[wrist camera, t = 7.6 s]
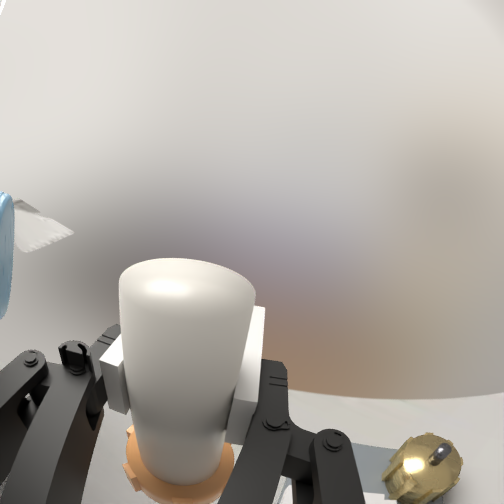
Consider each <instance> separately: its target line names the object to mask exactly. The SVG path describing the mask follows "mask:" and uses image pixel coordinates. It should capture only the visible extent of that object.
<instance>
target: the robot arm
mask: <svg viewBox="0 0 504 504" xmlns="http://www.w3.org/2000/svg"><path fill="white" fill-rule="evenodd" d="M5 1H6V0H0V14H1V11H2V9H3V6H4V3H5ZM13 250H14V204H13V202H12V198H11V196H10V195H9V194H5V193H4V192H2V191H0V319H2V317H3V316H4V315H5V313H6V311H7V308H8V303H9V298H10V291H11V280H12V267H13ZM264 315H265V308H264V307H258V306H254V308H253V313H252V318H251V322H250V327H249V332H248V337H247V341H246V346H245V351H244V355H243V360H242V365H241V369H240V374H239V378H238V382H237V384H236V388H235V392H234V397H233V401H232V406H231V411H230V415H229V420H228V424H227V429H226V434H225V439H224V442H226V443H231V444H237V445H243V447H242V450H241V452H240V454H239V457H238V459H237V461H236V464H235V466H234V468H233V470H232V473H231V475H230V477H229V479H228V482H227V484H226V486H225V488H224V490H223V493H222V495H221V497H220V499H219V501H218V503H217V504H272V503H273V500H274V496H275V493H276V490H277V486H278V483H279V480H280V476H281V475H282V476H285V477H288V478H290V479H291V482H292V499H293V504H366V503H365V498H364V494H363V490H362V485H361V481H360V477H359V473H358V469H357V465H356V461H355V457H354V453H353V449H352V445H351V442H350V440H349V438H348V437H347V436H346V435H345V434H344V433H343V432H341V431H338V430H335V429H325V430H322V431H320V432H318V433H317V434H315V433H312V432H309V431H306V430H304V429H301V428H299V427H298V426H296V425H295V424H294V423H293V422H292V420H291V419H290V417H289V410H288V388H287V386H288V382H287V369H286V368H285V366H284V364H283V363H282V362H278V361H272V360H266V359H261V355H262V342H263V329H264ZM58 349H59V353H60V357H61V360H62V364H63V365H62V364H55V363H50V362H46V359H45V356H44V354H42V353H41V352H39V351H37V350H28V351H24V352H23V353H21V354H20V355H19V356H17V357H16V358H15V359H14V360H13V361H11V362H10V363H9V364H8V365H7V366H6V367H4V368H3V369H2V370H1V371H0V485H1V484H2V483H3V481H4V480H5V478H6V477H7V476H8V474H9V473H10V474H9V477H8V479H7V482H6V485H5V488H4V491H3V494H2V497H1V500H0V504H81V500H82V495H83V491H84V486H85V482H86V478H87V474H88V470H89V466H90V462H91V458H92V454H93V451H94V447H95V444H96V440H97V437H98V433H99V430H100V427H101V423H102V420H103V417H104V409H103V406H104V404H105V403H106V401H108V405H109V408H110V409H112V410H115V411H117V412H120V413H122V414H125V415H126V414H127V412H128V410H129V408H130V404H129V397H128V391H127V384H126V377H125V369H124V360H123V350H122V339H121V325H118V324H116V325H114V326H112V327H109V328H108V329H107V330H106V331H105V332H104V333H103V334H102V336H100V337H99V338H98V340H97V341H96V342H95V343H94V344H93V345H92V346H91V347H90V348H89V346H87V345H86V344H85V343H83V342H81V341H74V340H73V341H67V342H65V343H63V344H61V345H60V346H59V347H58ZM28 393H29V394H30V396H29V397H27V398H25V396H26V395H27V394H28Z"/></svg>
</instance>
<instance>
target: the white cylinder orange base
mask: <svg viewBox="0 0 504 504" xmlns="http://www.w3.org/2000/svg"><path fill="white" fill-rule="evenodd" d="M255 298H256V293H255V289H254V287H253V286H252V284H251V283H250V282H249V281H248V280H247V279H246V278H244V277H243V276H241V275H240V274H238V273H236V272H234V271H232V270H230V269H228V268H225V267H222V266H219V265H216V264H213V263H209V262H204V261H199V260H192V259H182V258H161V259H153V260H147V261H143V262H140V263H137V264H135V265H133V266H131V267H129V268H127V269H126V270H125V271H124V272H123V273H122V275H121V276H120V279H119V303H120V304H119V306H120V325H121V339H122V350H123V360H124V369H125V377H126V384H127V391H128V397H129V404H130V409H131V415H132V420H133V425H132V426H131V427H130V428H129V429H128V430H127V431H126V432H127V436H128V442H127V446H126V455H127V460H128V463H125V464H122V465H123V468H124V470H125V473H126V475H127V478H128V480H129V481H130V483H131V485H132V486H133V488H134V490H135V491H136V492H137V491H140V490H142V491H143V492H144V493H145V494H146V495H147V496H148V497H150V498H151V499H153V500H154V501H156V502H158V503H160V504H210V503H212V502H213V501H215V500H216V499H218V498H219V497H220V496H221V495H222V493H223V490H224V488H225V486H226V484H227V482H228V479H229V477H230V475H231V473H232V470H233V466H234V453H233V449H232V447H231V443H226V442H224V439H225V434H226V429H227V424H228V420H229V415H230V411H231V406H232V401H233V397H234V392H235V388H236V384H237V382H238V378H239V374H240V369H241V365H242V360H243V355H244V351H245V346H246V341H247V337H248V332H249V327H250V322H251V318H252V313H253V308H254V302H255Z"/></svg>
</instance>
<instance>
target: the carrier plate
mask: <svg viewBox="0 0 504 504" xmlns="http://www.w3.org/2000/svg"><path fill="white" fill-rule="evenodd" d="M351 445H352V449H353V453H354V457H355V461H356V465H357V469H358V473H359V477H360V481H361V485H362V490H363V494H364V498H365V503H366V504H401V503H399V502H397V500H391V499H390V498H389V497H388V496H389V495H390V494H389V493H388V491H387V489H386V486H385V481H382V473H383V472H384V471H385V470H386V469H387V467H388V466H389V464H390V463H391V461H390V459H391V457H392V456H393V455H394V454H395V453H396V452H397V451H398V450H397V449H388V448H381V447H374V446H368V445H362V444H356V443H351ZM277 504H293V499H292V482H291V479H290V478H288V477H287V478H286V481H285V484H284V487H283V490H282V492H281V495H280V498H279V500H278V503H277ZM426 504H443V497H442V496H441V497H440V498H438V499H437V500H436V501H434V502H433V501H432V500H431V501H429V502H428V503H426Z"/></svg>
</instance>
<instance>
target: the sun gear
mask: <svg viewBox="0 0 504 504" xmlns="http://www.w3.org/2000/svg"><path fill="white" fill-rule="evenodd" d="M390 461H391V463H390V464H389V466H388V467H387V469H386V470H385V471H384V472H383V473H382V481H385V486H386V489H387V491H388V493H389V494H390V495H389V496H388V497H389V498H390V499H391V500H397V502H399V503H401V504H426V503H428V502H429V501H431V500H432V501H433V502H434V501H436V500H437V499H438V498H440V497H441V496H442V495H443V494H445V493H446V492H447V491H449V490H450V489H451V488H452V487H453V486H455V485H456V484H457V482H458V481H459V480H460V478H458V476H459V474H460V471H461V466H462V465H463V459H462V457H460V456H459V454H458V452H457V450H456V449H455V447H454V446H453V443H452V442H451V441H450V440H445V439H443V438H441V437H439V436H435V435H433V433H425V435H421V436H418V437H416V438H412V437H410V438H409V439H408V440H406V442H405V443H404V444H403V445H402V446H401V447H400V449H399V450H398V451H397V452H396V453H395V454H394V455H393V456H392V457H391V459H390Z"/></svg>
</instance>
